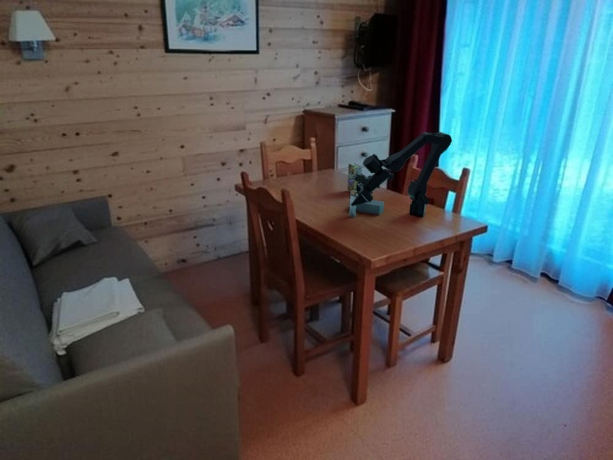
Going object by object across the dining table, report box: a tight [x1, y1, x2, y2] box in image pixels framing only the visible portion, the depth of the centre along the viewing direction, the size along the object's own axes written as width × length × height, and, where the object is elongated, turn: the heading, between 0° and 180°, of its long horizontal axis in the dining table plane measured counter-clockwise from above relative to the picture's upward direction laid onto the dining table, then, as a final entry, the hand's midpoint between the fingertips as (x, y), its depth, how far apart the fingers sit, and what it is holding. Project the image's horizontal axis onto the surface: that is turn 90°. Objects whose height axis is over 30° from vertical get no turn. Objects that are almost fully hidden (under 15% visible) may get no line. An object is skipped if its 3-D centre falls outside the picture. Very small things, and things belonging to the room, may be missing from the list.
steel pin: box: [348, 190, 358, 218], centre depth 207 cm, size 3×3×12 cm
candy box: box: [347, 162, 363, 194], centre depth 240 cm, size 9×4×15 cm, turn 17°
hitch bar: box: [348, 199, 385, 216], centre depth 217 cm, size 15×7×4 cm, turn 64°
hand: (350, 202), depth 207 cm, fingers open, 9 cm apart
